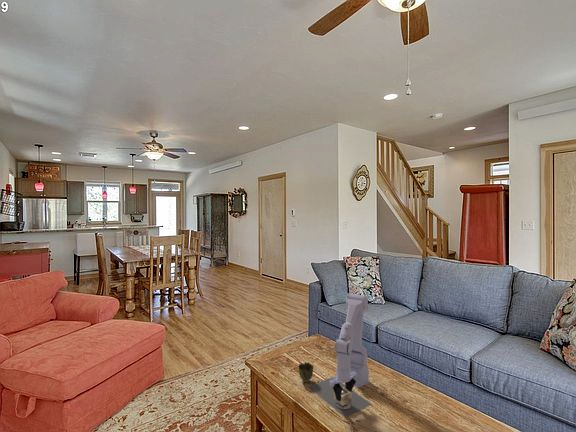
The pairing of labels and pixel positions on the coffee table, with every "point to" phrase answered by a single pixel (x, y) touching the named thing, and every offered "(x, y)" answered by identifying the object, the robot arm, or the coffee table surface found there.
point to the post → (344, 405)
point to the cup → (306, 372)
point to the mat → (328, 395)
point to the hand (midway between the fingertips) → (343, 397)
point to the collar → (344, 397)
